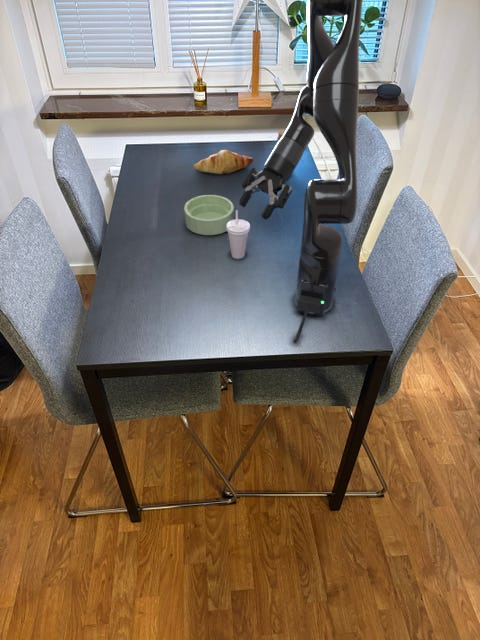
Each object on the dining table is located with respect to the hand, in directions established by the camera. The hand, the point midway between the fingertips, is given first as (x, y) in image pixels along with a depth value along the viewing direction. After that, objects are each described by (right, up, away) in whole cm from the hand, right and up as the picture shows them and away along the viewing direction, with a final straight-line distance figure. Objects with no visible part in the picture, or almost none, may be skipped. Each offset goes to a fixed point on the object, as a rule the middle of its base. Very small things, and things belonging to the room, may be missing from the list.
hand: (252, 211), depth 137 cm
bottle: (+11, +22, +40) cm, 47 cm away
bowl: (-13, 0, +17) cm, 21 cm away
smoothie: (-4, -11, +6) cm, 13 cm away
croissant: (-9, +24, +43) cm, 50 cm away
